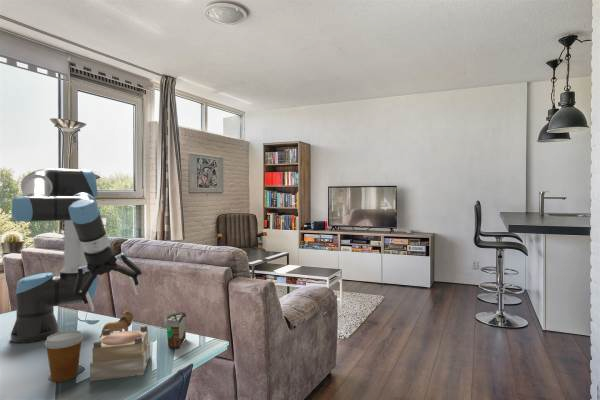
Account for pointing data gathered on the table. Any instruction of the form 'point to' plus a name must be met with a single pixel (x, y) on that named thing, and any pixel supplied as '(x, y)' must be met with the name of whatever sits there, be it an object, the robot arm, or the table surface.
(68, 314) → the table surface
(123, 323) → the lion figurine
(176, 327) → the food container
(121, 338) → the wooden crate
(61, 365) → the disposable coffee cup
